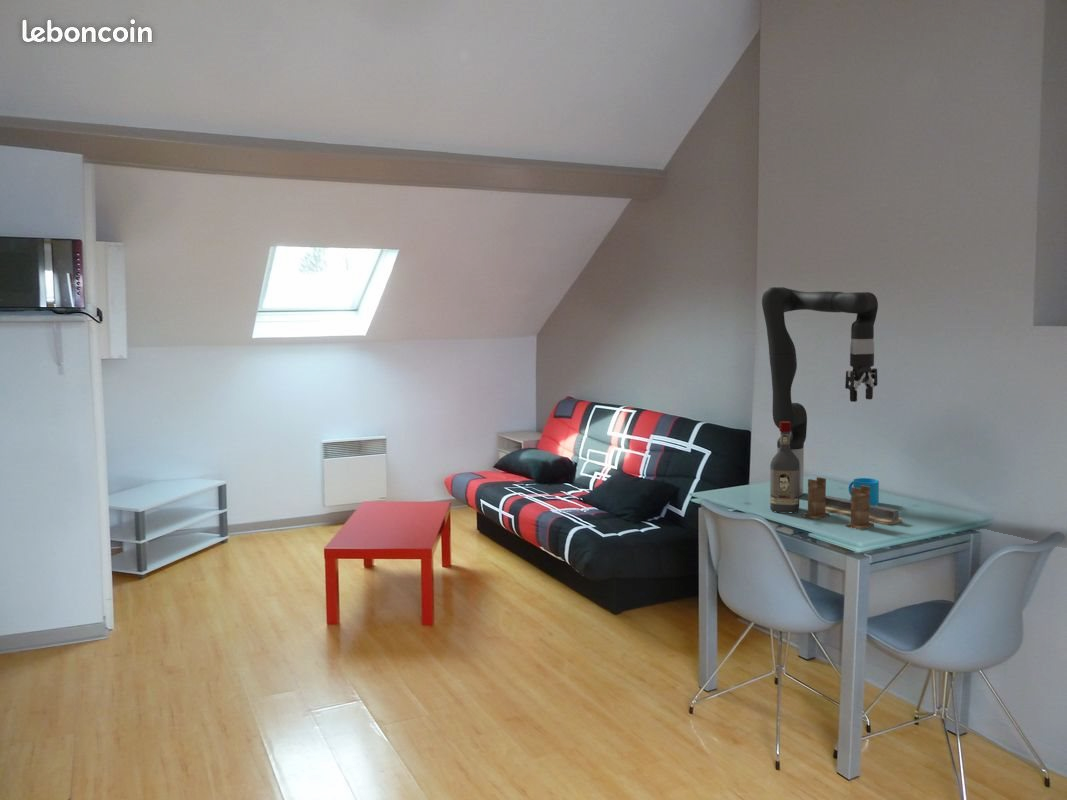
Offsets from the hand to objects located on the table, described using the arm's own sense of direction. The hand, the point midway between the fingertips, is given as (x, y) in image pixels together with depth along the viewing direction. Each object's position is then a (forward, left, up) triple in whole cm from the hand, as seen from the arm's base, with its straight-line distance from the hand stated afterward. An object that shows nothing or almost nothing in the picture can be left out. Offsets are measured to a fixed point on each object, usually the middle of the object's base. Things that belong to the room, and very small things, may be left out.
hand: (861, 400), depth 278 cm
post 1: (0, -23, -36) cm, 43 cm away
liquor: (-12, -24, -36) cm, 45 cm away
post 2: (+16, -23, -36) cm, 46 cm away
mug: (-2, +4, -36) cm, 37 cm away
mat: (+8, -12, -36) cm, 39 cm away
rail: (+8, -12, -35) cm, 38 cm away
